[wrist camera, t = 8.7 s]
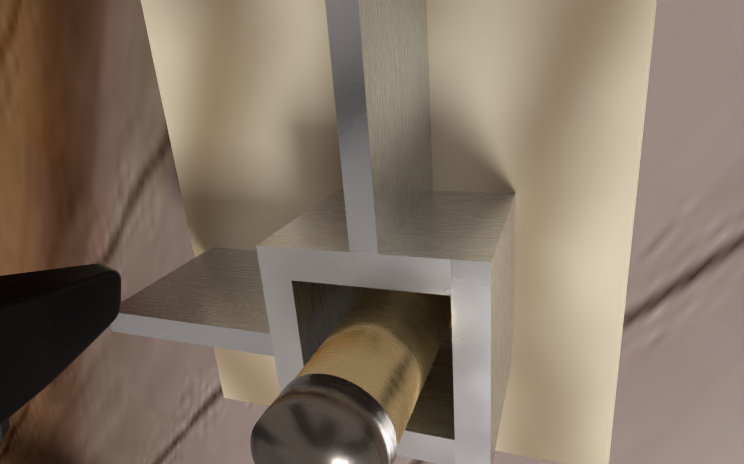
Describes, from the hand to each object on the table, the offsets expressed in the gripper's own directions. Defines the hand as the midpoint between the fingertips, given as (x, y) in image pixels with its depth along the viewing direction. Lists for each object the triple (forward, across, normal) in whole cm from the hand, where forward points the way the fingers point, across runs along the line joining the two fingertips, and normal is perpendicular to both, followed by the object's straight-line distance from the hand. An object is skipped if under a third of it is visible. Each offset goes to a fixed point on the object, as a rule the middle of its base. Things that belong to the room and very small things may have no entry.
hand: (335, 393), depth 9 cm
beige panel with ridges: (+13, +3, +2) cm, 13 cm away
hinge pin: (+11, 0, +4) cm, 12 cm away
